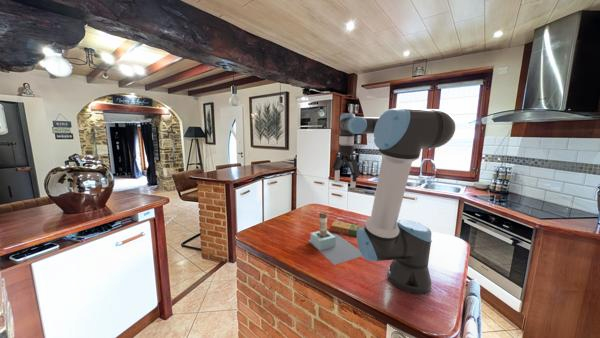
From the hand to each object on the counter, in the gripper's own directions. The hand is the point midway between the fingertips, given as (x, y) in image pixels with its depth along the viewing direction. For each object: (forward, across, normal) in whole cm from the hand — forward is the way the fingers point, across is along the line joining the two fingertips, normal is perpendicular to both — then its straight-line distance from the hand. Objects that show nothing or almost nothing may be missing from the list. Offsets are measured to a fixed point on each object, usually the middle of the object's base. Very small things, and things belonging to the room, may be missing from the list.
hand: (344, 184), depth 118 cm
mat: (+29, -10, +12) cm, 33 cm away
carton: (+29, +2, -4) cm, 30 cm away
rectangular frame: (+28, -5, +16) cm, 33 cm away
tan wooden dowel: (+28, -5, +16) cm, 33 cm away
